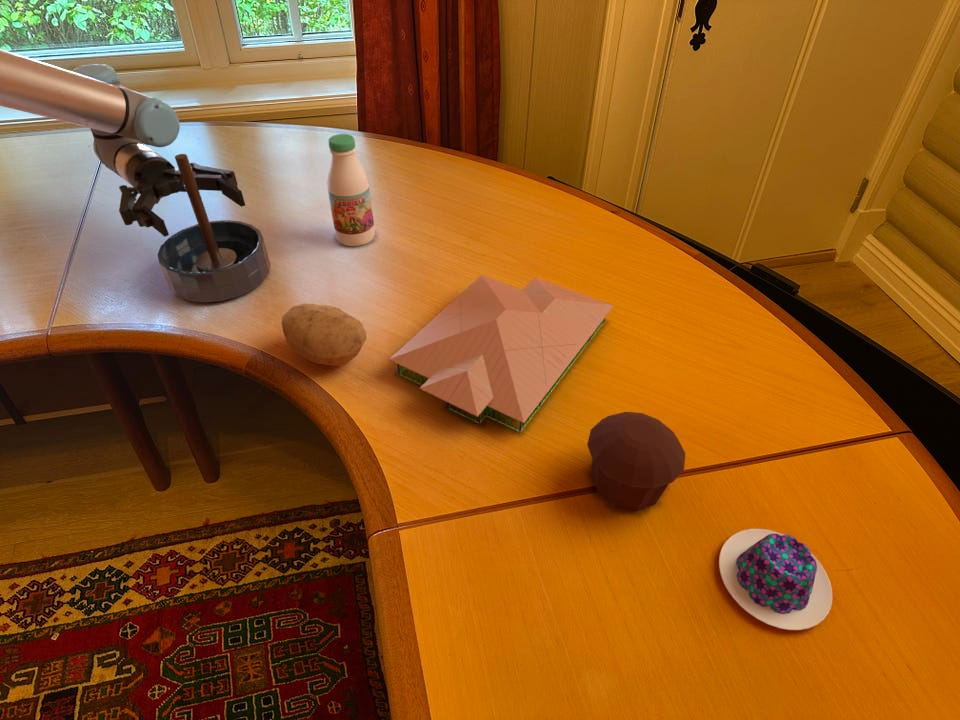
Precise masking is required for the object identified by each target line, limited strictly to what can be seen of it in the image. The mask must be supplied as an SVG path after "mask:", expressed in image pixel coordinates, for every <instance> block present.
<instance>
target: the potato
mask: <svg viewBox="0 0 960 720" xmlns="http://www.w3.org/2000/svg"><path fill="white" fill-rule="evenodd" d="M281 328H282V333H283V335H284V338H285V340H286V342H287V344H288V345H289V347H290V348H291V349H292V350H293V351H294V352H296V354H298V355H300V356H301V357H303V358H304V359H306V360H308V361H310V362H312V363H315V364H319V365H323V366H334V367H338V366H343V365H346V364H348V363H349V362H351V361H352V360H353V359H355V358H356V357H358V355H359V353H360V351H361V349H362V347H363V346H364V344H365V342H366V340H367V331H366V329H365V327H364V324H363V323H362V322H361V321H360V320H359V319H358V318H355V317H354V316H352V315H351V314H348V312H345V311H344V310H342V309H341V308H340V307H336V306H333V305H327V304H317V303H316V304H315V303H301V304H298V305H294V306H291V308H289V309H288V311H286V313H284V314H283V315H282V316H281Z"/></svg>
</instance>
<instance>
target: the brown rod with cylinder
mask: <svg viewBox="0 0 960 720" xmlns="http://www.w3.org/2000/svg"><path fill="white" fill-rule="evenodd" d="M174 159H175V162H176V166H177V169H179V171H180V174H181V177H182V179H183V182H184V186H185V188H186V191H187V192H186V193H187V197H188V199H189V203H190V204H191V208H192V211H193V214H194V216H195V219H196V222H197V224H198V225H199V228H200V231H201V233H202V236H203V239H204V242H205V245H206V248H207V251H206V252H204V253H202V254H201V255H199V256H198V257H197V259H196V261H195V264H196V267H197V269H198V272H211V271H215V270H219V269H223V268H227V267H230V266H232V265H234V264H237V263H239V261H238V258H237V255H236V253H235V252H234V251H233V250H231V249H227V248H218V246H217V243H216V240H215V237H214V234H213V231H212V228H211V225H210V220H209V216H208V214H207V211H206V207H205V205H204V202H203V199H202V195H201V192H200V190H198V187H197V184H196V181H195V178H194V175H193V172H192V169H191V166H190V163H191V162H190V160H189V157H188V154H186V153H179V154H176V155H175V156H174Z"/></svg>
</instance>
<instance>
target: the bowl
mask: <svg viewBox="0 0 960 720" xmlns="http://www.w3.org/2000/svg"><path fill="white" fill-rule="evenodd" d="M209 222H210V225H211V228H212V231H213V234H214V237H215V240H216V243H217V246H218V248H227V249H231V250H233V251H234V252H235V253H236V255H237V258H238V261H239V263H237V264H234V265H232V266H230V267H227V268H223V269H219V270H215V271H211V272H198V269H197V267H196V264H195V261H196V259H197V257H198V256H199V255H201V254H202V253H204V252H206V251H207V248H206V245H205V242H204V239H203V236H202V233H201V231H200V228H199V225H198V223H196V224H194V225H191V226H189V227H186V228H183V229H181V230H179V231H177V232H176V233H174V234H173V235H171V236H169V237H168V238H167V239H165V241H164V242H162V244H161V245H160V246H159V249H158V251H157V260H158V263H159V266H160V267H161V271H162V273H163V275H164V278H165V280H166V282H167V285H168V287H169V289H170V291H171V292H173V294H174V295H176V296H177V297H178V298H181V299H184V300H186V301H188V302H195V303H213V302H214V303H215V302H223V301H226V300H231V299H234V298H238V297H240V296H243V295H245V294H247V293H249V292H252V291H253V290H254V289H255V288H257V287H258V286H260V285H261V284H262V283H263V282H264V281H265V279H266V278H267V277H268V275H269V274H270V270H271V265H272V264H271V261H270V257H269V254H268V249H267V246H266V242H265V238H264V236H263V234H262V232H261V230H260V229H258V228H257V227H256V226H254V225H253V224H250V223H247V222H244V221H241V220H231V219H224V220H223V219H222V220H209Z"/></svg>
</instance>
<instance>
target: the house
mask: <svg viewBox="0 0 960 720" xmlns="http://www.w3.org/2000/svg"><path fill="white" fill-rule="evenodd" d="M614 307H615V305H613V304H610V303H609V302H604V301H602V300H600V299H596V298H594V297H591V296H588V295H586V294H583V293H580V292H577V291H575V290H571V289H569V288H566V287H564V286H560V285H558V284H556V283H552V282H549V281H547V280H545V279H541V278H538V277H536V276H534V277H533V278H532V279H531V280H530V281H529V282H528V283H527V284H526V285H525V286H524V288H522V289H521V288H518V287H515V286H513V285H510V284H508V283H504V282H502V281H499V280H496V279H494V278H491V277H489V276H486V275H482V274H481V275H479V277H477V278H476V279H475V280H474V281H473V282H472V283H471V284H470V285H468V287H467V288H465V289H464V290H463V291H462V292H461V293H460V294H459V295H457V297H456V298H454V299H453V300H452V301H451V302H450V303H449V304H447V306H446V307H445V308H444V309H443V310H441V311H440V312H439V313H438V314H437V315H436V316H435V317H434V318H432V320H430V321H429V322H428V323H427V324H426V325H424V327H422V329H420V331H418V332H417V333H416V334H415V335H413V337H412V338H410V339H409V340H408V341H407V343H405V344H404V345H403V346H402V347H400V349H398V350H397V351H396V352H395V353H394V354H392V355H391V357H390V358H389V359H388V361H390V362H393V363H394V364H396V365H397V374H398V375H399V376H402V377H404V378H406V379H408V380H410V381H412V382H414V383H416V384H418V385H421V386H420V387H419V390H420V391H422V392H424V393H427V394H429V395H431V396H433V397H436V398H437V399H440V400H442V401H444V402H445V403H447V404H446V407H447V408H446V409H449V410H450V411H452V412H454V413H457V414H459V415H461V416H462V417H464V418H467V419H468V420H471V421H473V422H475V423H477V424H479V425H480V424H481V423H482V422H483V420H484V419H485V418H486V417H487V418H489V419H492V420H493V421H496V422H498V423H500V424H502V425H503V426H506V427H508V428H510V429H512V430H514V431H516V432H519V433H522V431H523V430H524V428H525V427H526V426H527V425H528V423H529V422H530V421H531V419H532V418H533V417H534V415H535V414H536V412H537V411H538V410H539V408H540V407H541V406H542V405H543V403H544V402H545V401H546V400H547V398H549V396H550V394H551V393H552V391H553V390H554V389H555V388H556V386H557V385H558V384H559V383H560V381H561V380H562V379H563V377H564V376H565V375H566V374H567V372H568V371H569V369H570V368H571V366H572V365H573V364H574V363H575V361H576V360H577V359H578V358H579V356H580V355H581V354H582V352H583V351H584V350H585V348H586V347H587V346H588V344H589V343H590V341H591V340H592V339H593V338H594V336H596V334H597V332H598V331H599V330H600V328H601V327H602V326H603V325H604V323H605V319H606V317H607V316H608V314H609V313H610V312H611V311H612V310H613V308H614ZM404 371H406V375H407V376H405V372H404ZM401 373H402V374H401ZM409 373H410V374H411V375H410V376H411V378H410V377H409ZM413 375H415V379H414V378H413ZM417 376H418V377H419V382H418V379H417ZM422 379H423V380H424V383H423V384H422ZM452 406H453V407H456V410H454V409H453V408H451V407H452ZM459 409H461V412H459ZM464 412H466V415H464ZM493 412H494V413H495V418H494V417H493ZM468 414H470V415H471V416H474V419H473V418H472V417H468ZM488 414H490V416H489V415H488ZM481 415H482V418H481ZM498 415H500V420H498ZM477 417H478V421H477ZM502 417H504V418H505V423H503V422H502V420H503V418H502ZM508 419H509V420H510V425H508V424H507V423H508V422H507V421H508ZM513 422H515V428H514V427H512V424H513ZM518 424H519V429H518V428H517V427H518Z"/></svg>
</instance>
